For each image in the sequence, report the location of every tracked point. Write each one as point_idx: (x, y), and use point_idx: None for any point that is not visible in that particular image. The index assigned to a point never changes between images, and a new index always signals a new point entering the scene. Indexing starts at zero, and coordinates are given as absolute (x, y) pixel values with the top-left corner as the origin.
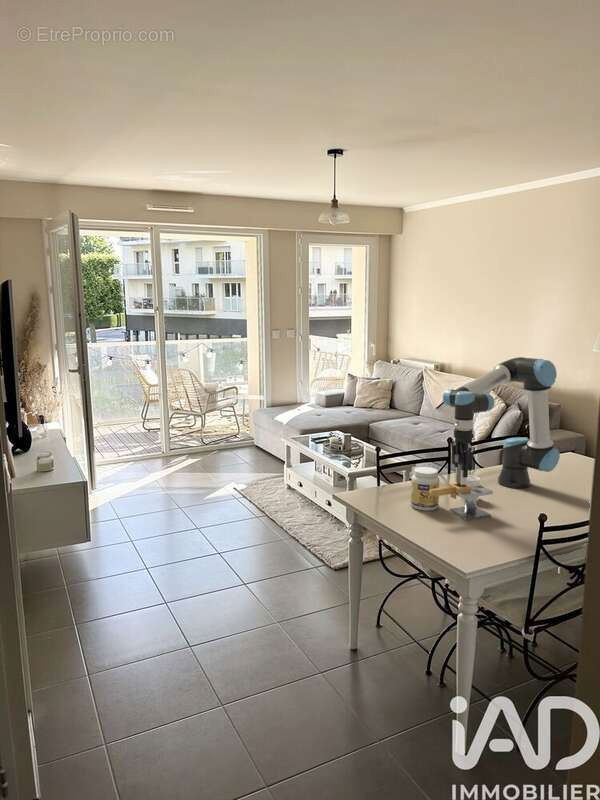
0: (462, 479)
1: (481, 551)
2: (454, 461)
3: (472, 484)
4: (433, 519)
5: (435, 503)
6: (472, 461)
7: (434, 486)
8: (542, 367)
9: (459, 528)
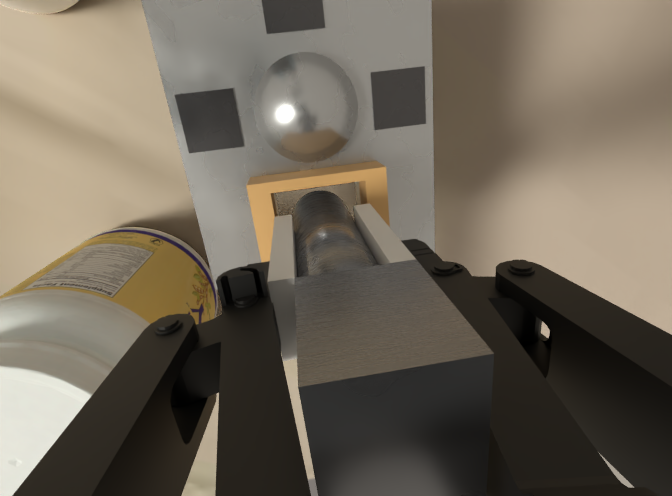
0: None
1: (644, 278)
2: (206, 406)
3: (207, 31)
4: None
5: (203, 277)
6: (652, 328)
7: None
8: None
9: (445, 255)
